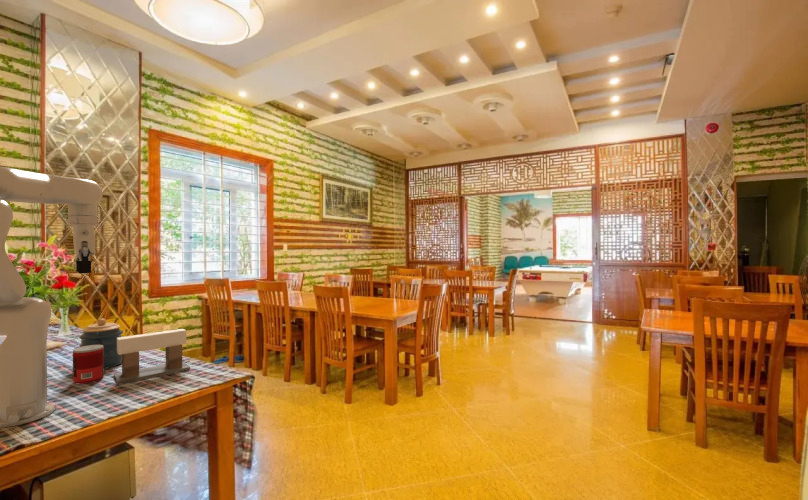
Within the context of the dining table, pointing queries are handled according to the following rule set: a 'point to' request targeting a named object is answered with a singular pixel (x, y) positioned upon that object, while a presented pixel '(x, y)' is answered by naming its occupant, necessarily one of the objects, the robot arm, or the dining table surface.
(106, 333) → the canister
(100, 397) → the dining table surface
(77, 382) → the canned food
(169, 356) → the post stand
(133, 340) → the shelf board
